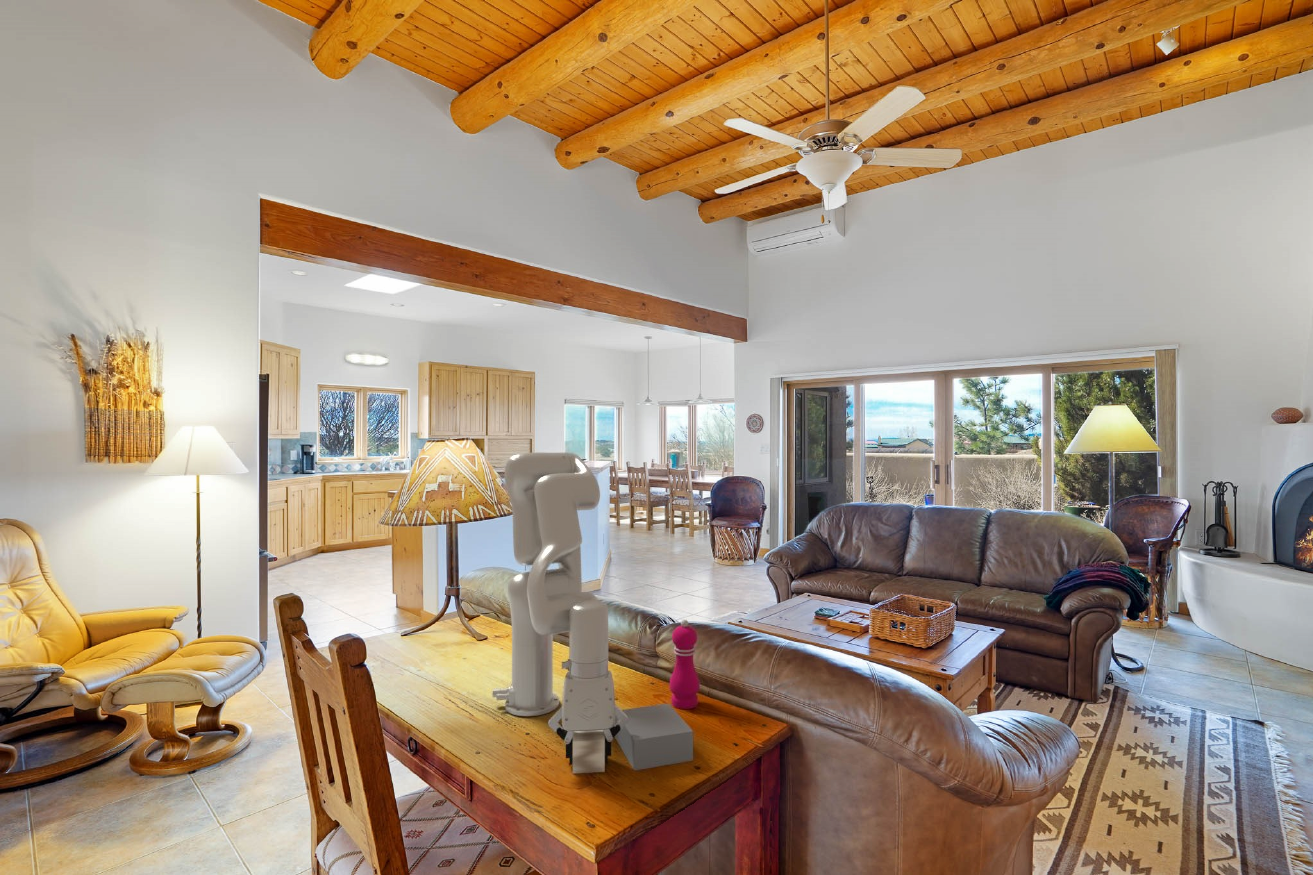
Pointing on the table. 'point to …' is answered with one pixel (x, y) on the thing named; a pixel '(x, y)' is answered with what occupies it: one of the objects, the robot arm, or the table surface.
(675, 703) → the pepper mill
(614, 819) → the table surface
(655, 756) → the slate block
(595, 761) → the cream block
